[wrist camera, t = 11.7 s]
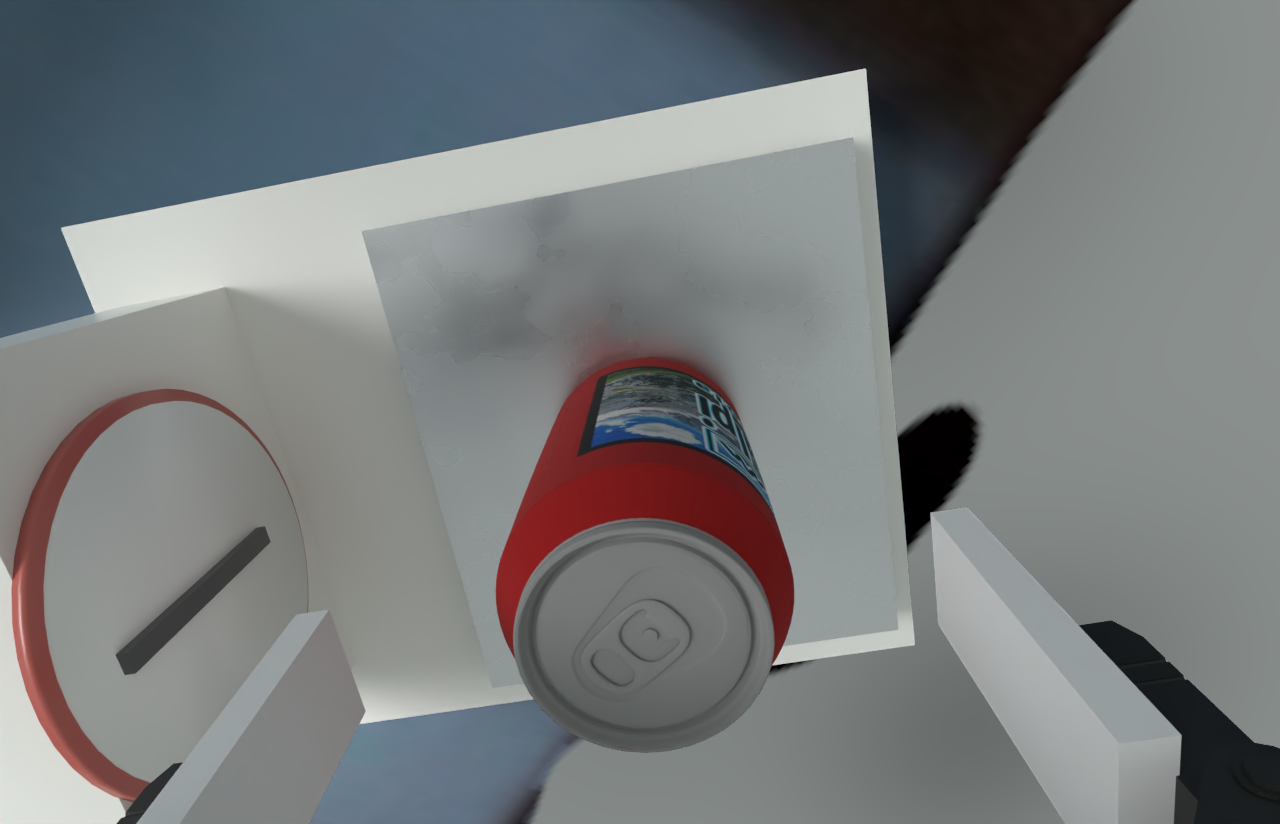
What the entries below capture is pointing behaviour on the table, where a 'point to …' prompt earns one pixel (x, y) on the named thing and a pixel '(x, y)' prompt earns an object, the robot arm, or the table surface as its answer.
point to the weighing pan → (655, 354)
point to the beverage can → (645, 563)
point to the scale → (288, 450)
